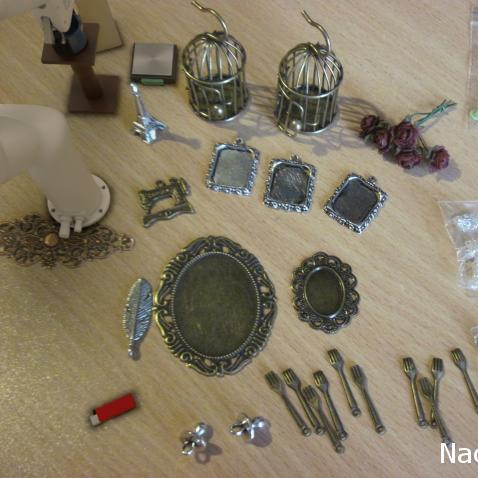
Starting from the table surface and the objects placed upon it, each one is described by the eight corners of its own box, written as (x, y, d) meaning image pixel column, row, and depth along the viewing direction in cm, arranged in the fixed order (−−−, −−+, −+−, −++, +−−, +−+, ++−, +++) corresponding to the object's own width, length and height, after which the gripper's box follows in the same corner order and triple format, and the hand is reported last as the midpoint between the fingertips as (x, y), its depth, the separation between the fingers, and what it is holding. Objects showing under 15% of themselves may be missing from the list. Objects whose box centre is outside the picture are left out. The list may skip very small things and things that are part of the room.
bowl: (85, 56, 110) (78, 39, 105) (48, 54, 109) (40, 38, 105) (89, 28, 112) (83, 11, 108) (53, 26, 111) (45, 9, 107)
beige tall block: (82, 29, 134) (52, -44, 114) (112, 21, 136) (88, -52, 116) (92, 54, 132) (63, -16, 112) (122, 45, 133) (99, -24, 114)
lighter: (135, 406, 103) (92, 426, 101) (136, 407, 104) (94, 426, 102) (130, 392, 104) (87, 411, 102) (131, 393, 105) (89, 412, 103)
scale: (174, 86, 131) (173, 79, 128) (131, 85, 130) (129, 78, 127) (177, 49, 135) (176, 42, 132) (135, 48, 134) (133, 40, 131)
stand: (114, 114, 126) (93, 62, 110) (69, 112, 125) (40, 60, 109) (119, 78, 130) (98, 23, 113) (74, 76, 129) (47, 20, 112)
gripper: (50, 5, 91) (82, 74, 107) (65, -72, 97) (92, 5, 113) (2, 2, 90) (41, 73, 106) (20, -75, 96) (54, 3, 113)
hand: (68, 37), depth 110 cm, fingers closed on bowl, 7 cm apart
